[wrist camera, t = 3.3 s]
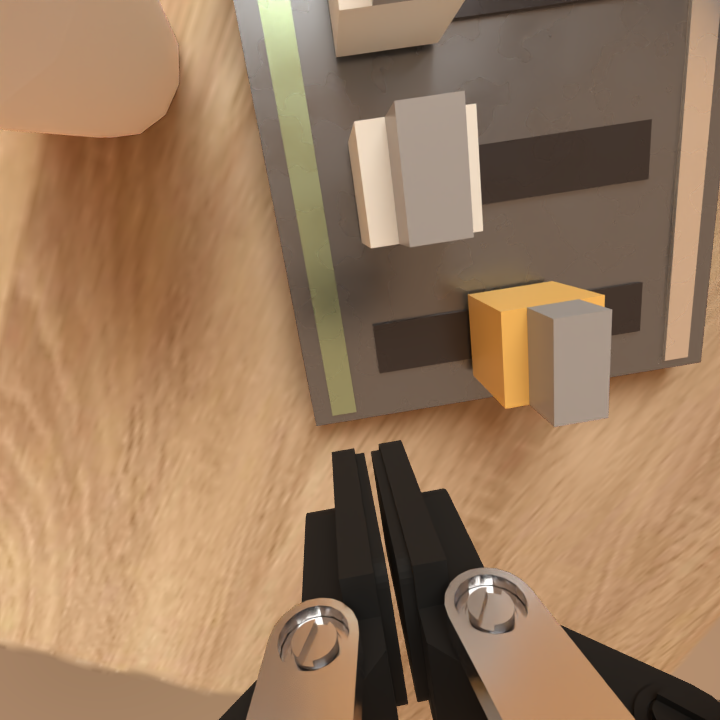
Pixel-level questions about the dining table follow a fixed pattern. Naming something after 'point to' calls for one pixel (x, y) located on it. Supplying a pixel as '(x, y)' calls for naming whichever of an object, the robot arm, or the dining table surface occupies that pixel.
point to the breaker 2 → (418, 172)
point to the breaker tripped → (544, 349)
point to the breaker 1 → (388, 23)
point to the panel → (495, 184)
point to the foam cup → (85, 66)
